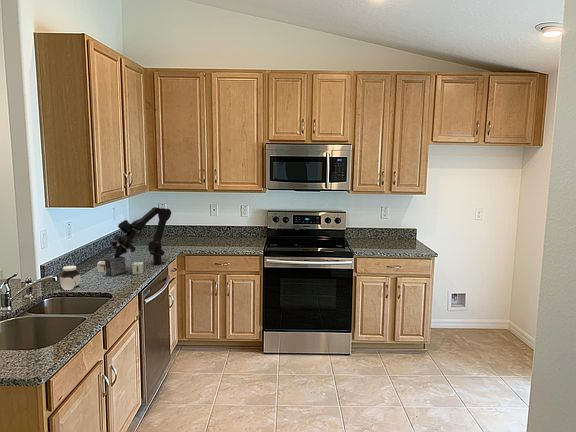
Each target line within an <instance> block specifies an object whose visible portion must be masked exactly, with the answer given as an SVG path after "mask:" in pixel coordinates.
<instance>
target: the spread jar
mask: <svg viewBox="0 0 576 432" xmlns="http://www.w3.org/2000/svg"><path fill="white" fill-rule="evenodd" d="M81 281H82V280H81V273H80V271H79V270H78V269H77V266H76V265H66V266H63V267H62V271H61V273H60V275H59V283H60V284H59V285H60V286H61V289H63V290H64V291H66V290H67V292H68V290H69V291H73V289H76V288H78V287H79V286H80V285H81ZM75 287H76V288H75Z"/></svg>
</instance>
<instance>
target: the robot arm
mask: <svg viewBox="0 0 576 432" xmlns="http://www.w3.org/2000/svg"><path fill="white" fill-rule="evenodd" d="M171 215H172V211H171V209H170V208H163V207H162V208H160V207H155V206H154V207H152V208H151V209H150V210H149V211H148V212H146V214H144V215H143V216H142V217H140V218H138V219H136V220H134V221H132V222H131V223H130V222H129V221H128V219H124V220H123V221H121V222H120V223H119V224H118V227H117V228H119V230H120V231H121V232H122V233H124V234H121V235H118V234H115V235H114V237H113V240H111V241H110V243H109V245H110V246H111V247H112V248H113V249H114V250H115V253H114V256H113V257H115V258H117V257H118V256H121V255H124V254H126V253H128V250H130V253H135V252H136V249H137V247H135V246H134V245H133V243H134V239H135V238H136V237H140V233H139V232H141V231H143V230H144V228H145V227H146V225H147V223H149V222H150V221H151V220H152V219H153V218H154V217H155V216H157V217H158V223H157V226H156V231H155V233H154V236H153V237H154V238H153V239H152V241H149V244H148V246H147V248H148V252H149V254H150V256H151V255H152V263H151V264H152V265H163V260H162V259H163V258H162V256H164V255H165V251H164V250H163V249H162V239H163V238H162V237H163V235H164V231H165V227H166V224H167V221H168V220H170V218H171V217H172V216H171ZM138 231H139V232H138Z"/></svg>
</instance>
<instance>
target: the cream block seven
mask: <svg viewBox="0 0 576 432" xmlns="http://www.w3.org/2000/svg"><path fill="white" fill-rule="evenodd" d="M96 267H97V273H106V266H105V260H102V261H101V260H100V261H98V262H97V266H96Z"/></svg>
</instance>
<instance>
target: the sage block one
mask: <svg viewBox="0 0 576 432" xmlns="http://www.w3.org/2000/svg"><path fill="white" fill-rule="evenodd" d="M131 265H132V275H133V274H134V275H135V274H136V275H137V274H143V273H144V261H140V262H139V261H137V262H135V261H134V262H132V264H131Z"/></svg>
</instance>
